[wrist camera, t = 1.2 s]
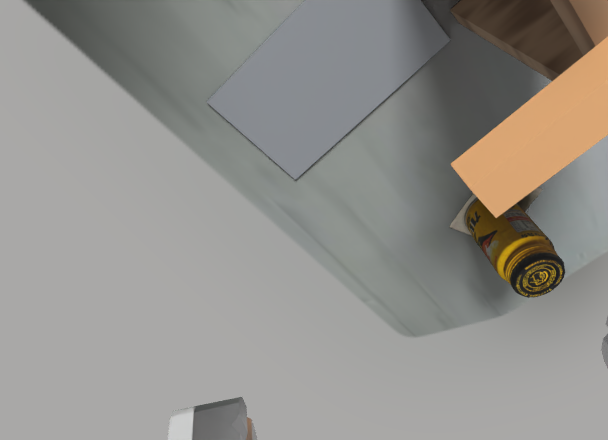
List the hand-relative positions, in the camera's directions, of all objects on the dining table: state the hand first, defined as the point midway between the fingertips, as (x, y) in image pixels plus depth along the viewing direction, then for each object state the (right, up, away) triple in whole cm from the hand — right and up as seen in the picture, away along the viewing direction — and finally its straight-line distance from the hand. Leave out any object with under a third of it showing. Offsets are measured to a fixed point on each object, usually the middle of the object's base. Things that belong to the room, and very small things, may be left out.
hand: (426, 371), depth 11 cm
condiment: (+19, +5, +49) cm, 53 cm away
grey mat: (0, +17, +37) cm, 41 cm away
